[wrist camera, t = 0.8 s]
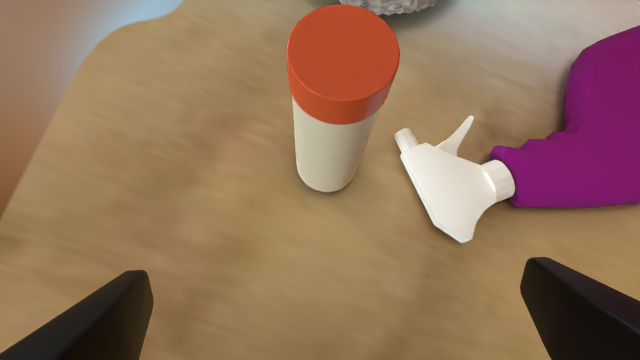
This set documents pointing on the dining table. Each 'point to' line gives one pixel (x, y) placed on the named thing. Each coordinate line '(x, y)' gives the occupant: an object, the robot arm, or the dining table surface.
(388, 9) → the sea urchin shell
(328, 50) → the white and orange cylinder
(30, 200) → the dining table surface
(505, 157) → the spray bottle
